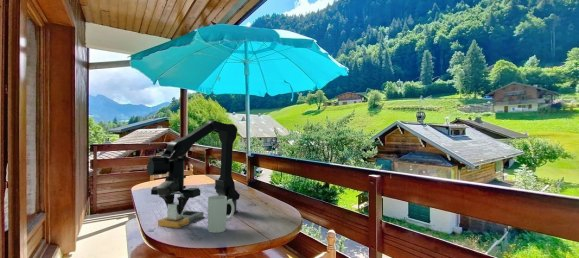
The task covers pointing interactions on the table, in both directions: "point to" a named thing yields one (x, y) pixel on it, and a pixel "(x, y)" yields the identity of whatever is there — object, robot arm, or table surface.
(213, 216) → the mug
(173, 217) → the peg
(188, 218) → the shallow compartment tray
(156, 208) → the table surface
